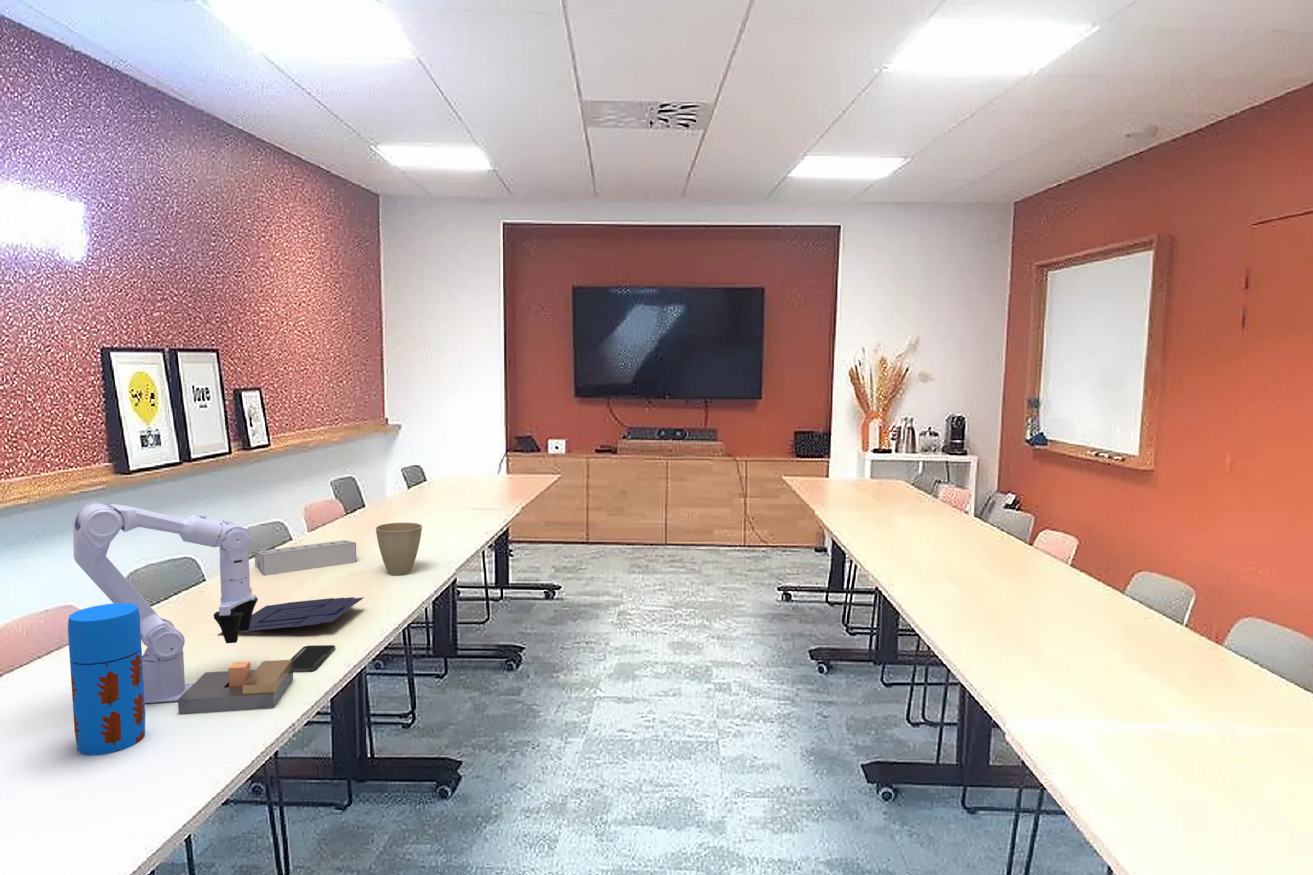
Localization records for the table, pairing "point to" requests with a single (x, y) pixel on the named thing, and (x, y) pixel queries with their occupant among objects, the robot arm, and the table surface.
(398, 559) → the plant pot
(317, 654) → the phone
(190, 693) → the bracket plate
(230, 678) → the light brown rectangular block
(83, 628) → the thermos
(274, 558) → the warehouse
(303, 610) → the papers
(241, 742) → the table surface
